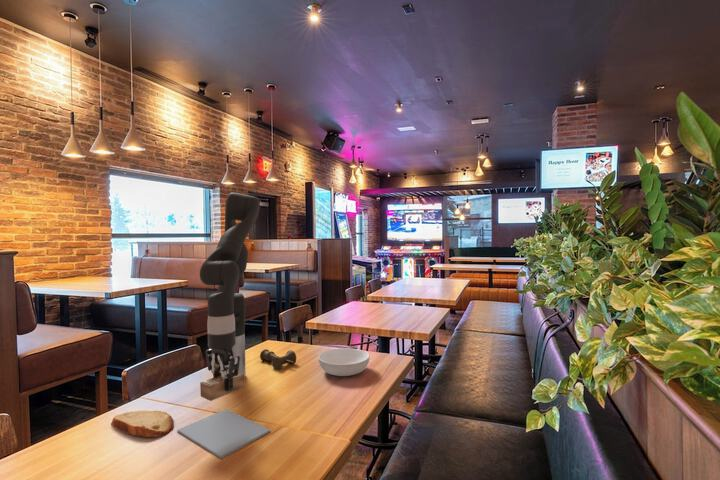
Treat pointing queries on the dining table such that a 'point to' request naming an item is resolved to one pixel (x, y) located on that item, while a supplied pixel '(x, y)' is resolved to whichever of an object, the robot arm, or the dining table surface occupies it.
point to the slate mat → (223, 432)
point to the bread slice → (144, 423)
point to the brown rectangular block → (219, 386)
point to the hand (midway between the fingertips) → (223, 387)
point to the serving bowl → (344, 361)
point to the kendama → (278, 358)
